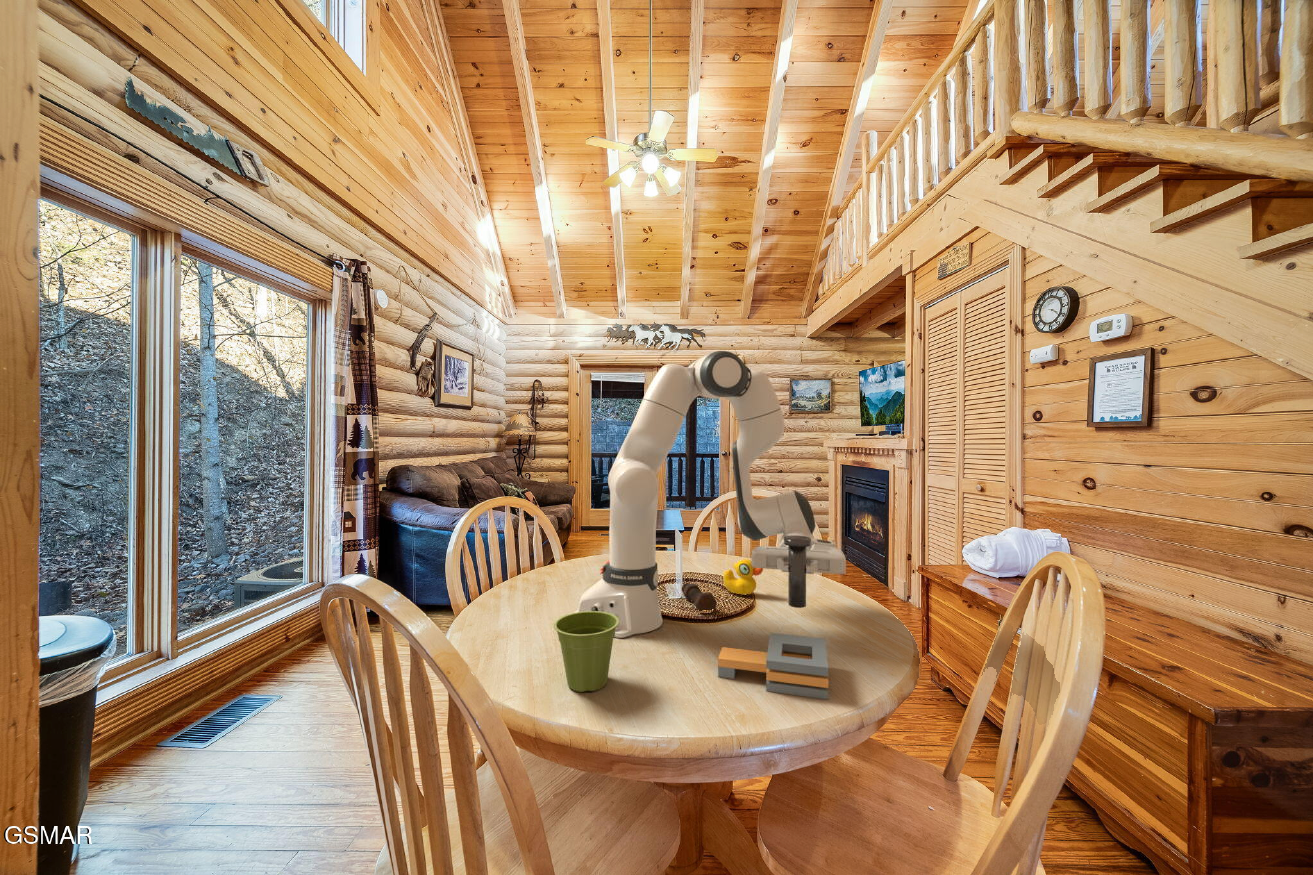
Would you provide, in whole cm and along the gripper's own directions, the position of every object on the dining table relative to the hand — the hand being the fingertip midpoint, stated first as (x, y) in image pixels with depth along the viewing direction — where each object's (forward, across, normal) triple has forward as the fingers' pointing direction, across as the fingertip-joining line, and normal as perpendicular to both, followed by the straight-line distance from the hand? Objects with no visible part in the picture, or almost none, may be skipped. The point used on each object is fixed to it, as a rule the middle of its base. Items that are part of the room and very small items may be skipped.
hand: (797, 569), depth 105 cm
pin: (-1, 0, +8) cm, 8 cm away
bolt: (-21, -26, +17) cm, 37 cm away
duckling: (-31, -15, +17) cm, 38 cm away
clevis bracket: (+13, -4, +17) cm, 22 cm away
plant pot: (+25, -37, +17) cm, 48 cm away
